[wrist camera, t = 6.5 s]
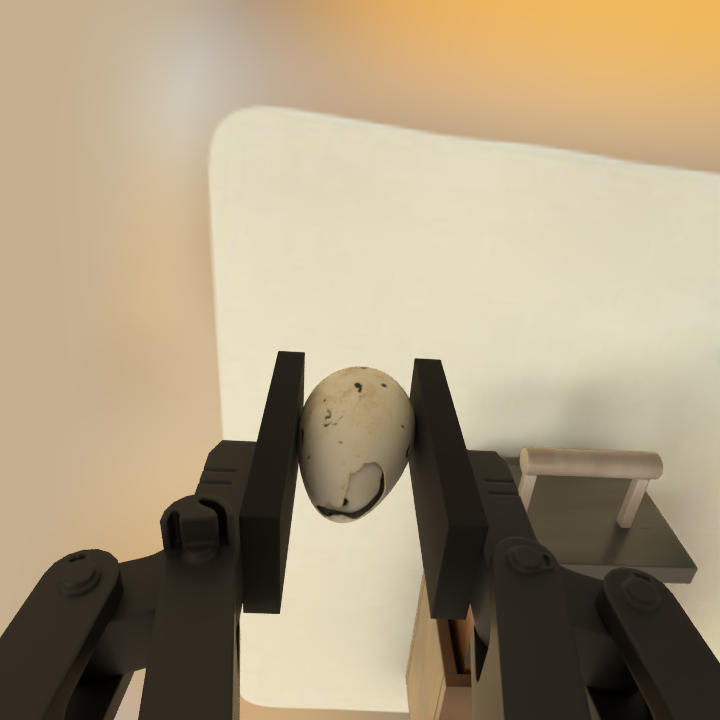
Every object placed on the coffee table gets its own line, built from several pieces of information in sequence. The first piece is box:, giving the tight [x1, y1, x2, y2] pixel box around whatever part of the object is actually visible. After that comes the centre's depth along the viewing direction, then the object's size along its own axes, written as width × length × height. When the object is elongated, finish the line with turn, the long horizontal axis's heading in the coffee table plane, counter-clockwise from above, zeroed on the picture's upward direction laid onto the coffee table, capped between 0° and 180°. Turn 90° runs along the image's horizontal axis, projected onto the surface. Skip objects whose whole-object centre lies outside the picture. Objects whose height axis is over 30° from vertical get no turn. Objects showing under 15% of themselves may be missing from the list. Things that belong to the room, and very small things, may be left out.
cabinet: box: [406, 572, 472, 720], centre depth 40 cm, size 15×13×10 cm
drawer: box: [448, 447, 697, 674], centre depth 34 cm, size 18×11×8 cm, turn 176°
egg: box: [297, 367, 416, 523], centre depth 15 cm, size 3×3×5 cm
